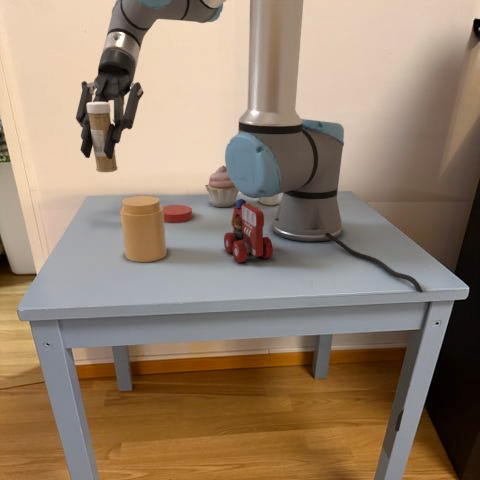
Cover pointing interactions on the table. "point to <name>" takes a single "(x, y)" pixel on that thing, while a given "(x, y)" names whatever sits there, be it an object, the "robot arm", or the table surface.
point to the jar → (143, 229)
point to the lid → (177, 213)
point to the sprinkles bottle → (101, 134)
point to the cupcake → (221, 189)
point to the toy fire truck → (247, 233)
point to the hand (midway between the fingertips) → (96, 154)
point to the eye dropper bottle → (269, 200)
